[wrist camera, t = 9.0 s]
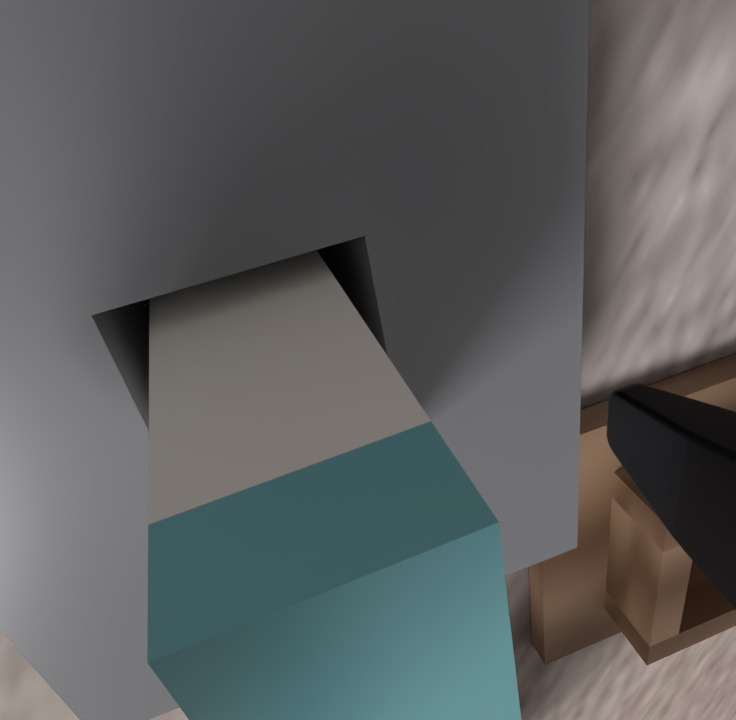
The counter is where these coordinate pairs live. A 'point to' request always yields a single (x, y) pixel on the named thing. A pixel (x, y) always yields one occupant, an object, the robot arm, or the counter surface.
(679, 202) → the counter surface
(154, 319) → the plug
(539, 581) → the holster
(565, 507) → the socket block
